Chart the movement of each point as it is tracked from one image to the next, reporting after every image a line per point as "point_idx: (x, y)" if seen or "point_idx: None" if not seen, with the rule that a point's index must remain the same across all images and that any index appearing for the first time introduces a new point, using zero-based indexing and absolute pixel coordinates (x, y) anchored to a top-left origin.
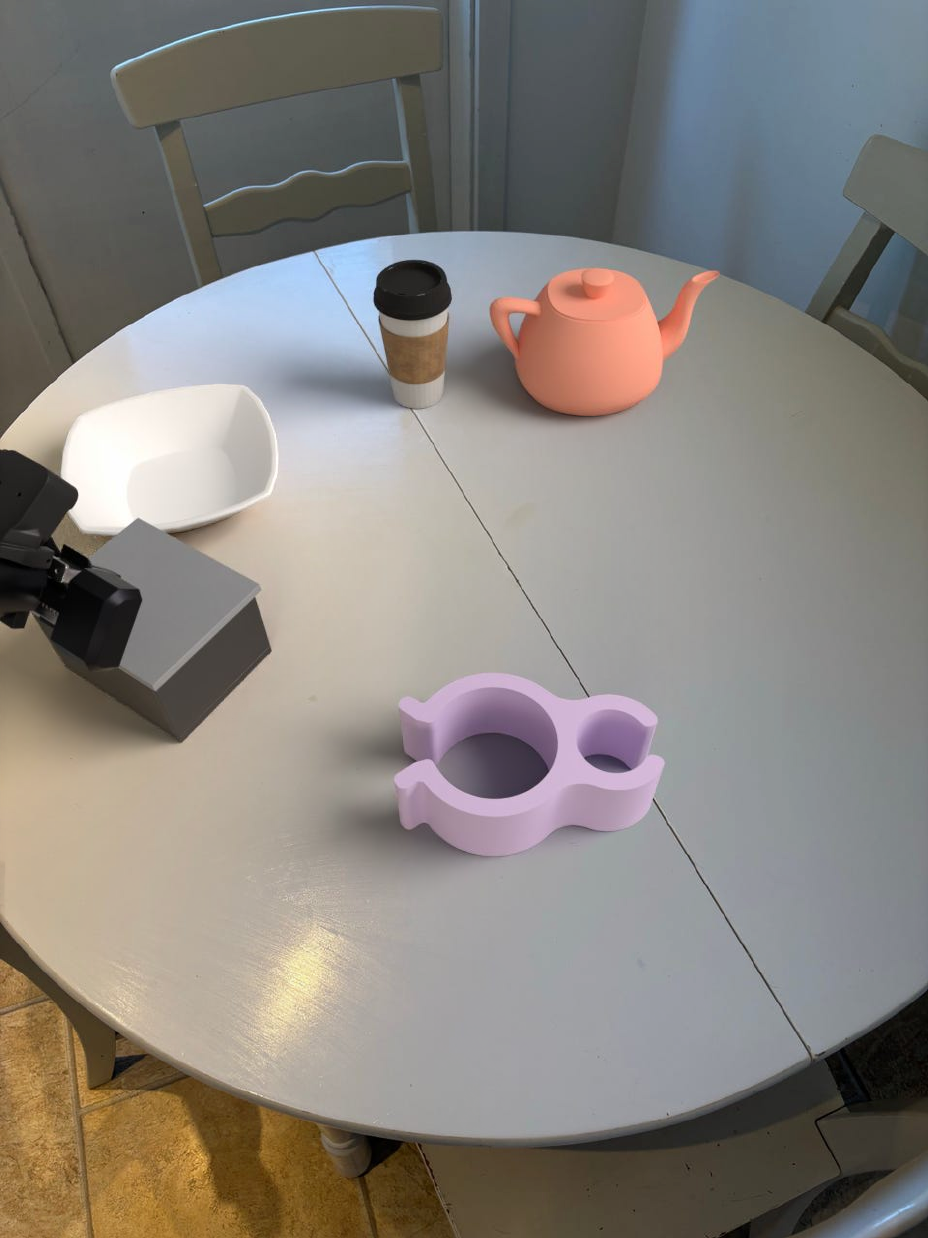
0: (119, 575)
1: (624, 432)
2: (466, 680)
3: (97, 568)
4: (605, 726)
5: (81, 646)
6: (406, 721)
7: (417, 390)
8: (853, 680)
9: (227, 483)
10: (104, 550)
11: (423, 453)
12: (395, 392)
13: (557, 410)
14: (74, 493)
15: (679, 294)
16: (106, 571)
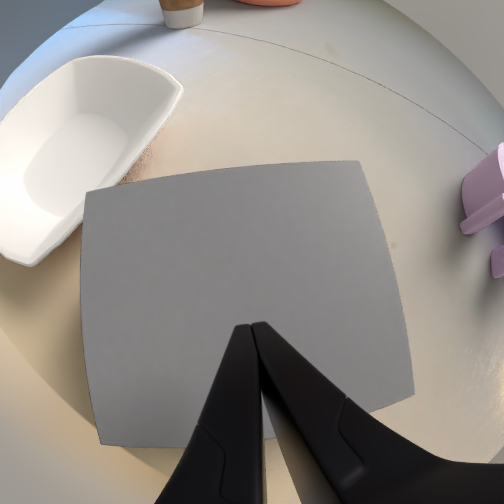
0: (268, 324)
1: (313, 8)
2: (500, 160)
3: (285, 385)
4: None
5: None
6: (501, 213)
7: (194, 12)
8: (483, 93)
9: (106, 127)
10: (89, 275)
11: (230, 38)
12: (175, 22)
13: (274, 4)
14: None
15: None
16: (280, 357)
